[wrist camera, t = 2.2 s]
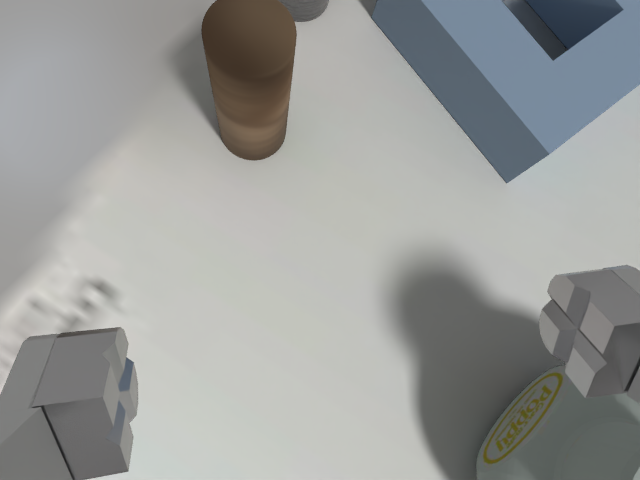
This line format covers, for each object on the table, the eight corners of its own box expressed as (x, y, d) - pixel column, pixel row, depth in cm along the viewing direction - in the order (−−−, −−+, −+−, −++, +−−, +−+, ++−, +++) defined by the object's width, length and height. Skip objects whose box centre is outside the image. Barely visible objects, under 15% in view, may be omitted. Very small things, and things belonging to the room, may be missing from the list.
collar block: (521, -77, 37) (560, -141, 32) (651, 71, 36) (712, 27, 31) (371, 17, 34) (389, -38, 29) (506, 183, 33) (549, 154, 28)
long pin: (260, 87, 32) (260, -26, 23) (298, 137, 32) (315, 44, 22) (206, 121, 32) (182, 19, 22) (245, 172, 31) (238, 91, 21)
